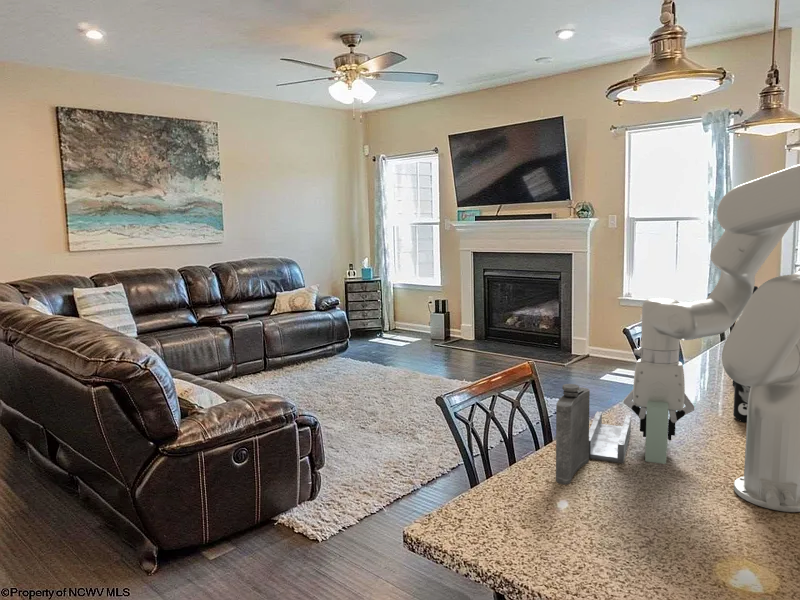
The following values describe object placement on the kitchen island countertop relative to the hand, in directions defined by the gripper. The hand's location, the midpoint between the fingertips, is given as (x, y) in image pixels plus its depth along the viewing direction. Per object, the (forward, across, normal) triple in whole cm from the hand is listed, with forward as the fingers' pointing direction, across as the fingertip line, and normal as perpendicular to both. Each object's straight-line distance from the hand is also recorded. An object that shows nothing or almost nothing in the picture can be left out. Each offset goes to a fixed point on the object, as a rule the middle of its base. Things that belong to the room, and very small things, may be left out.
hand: (657, 435), depth 127 cm
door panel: (+3, 0, 0) cm, 3 cm away
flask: (+4, -16, -17) cm, 24 cm away
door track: (+3, -10, 0) cm, 11 cm away
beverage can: (+4, +20, +29) cm, 35 cm away
